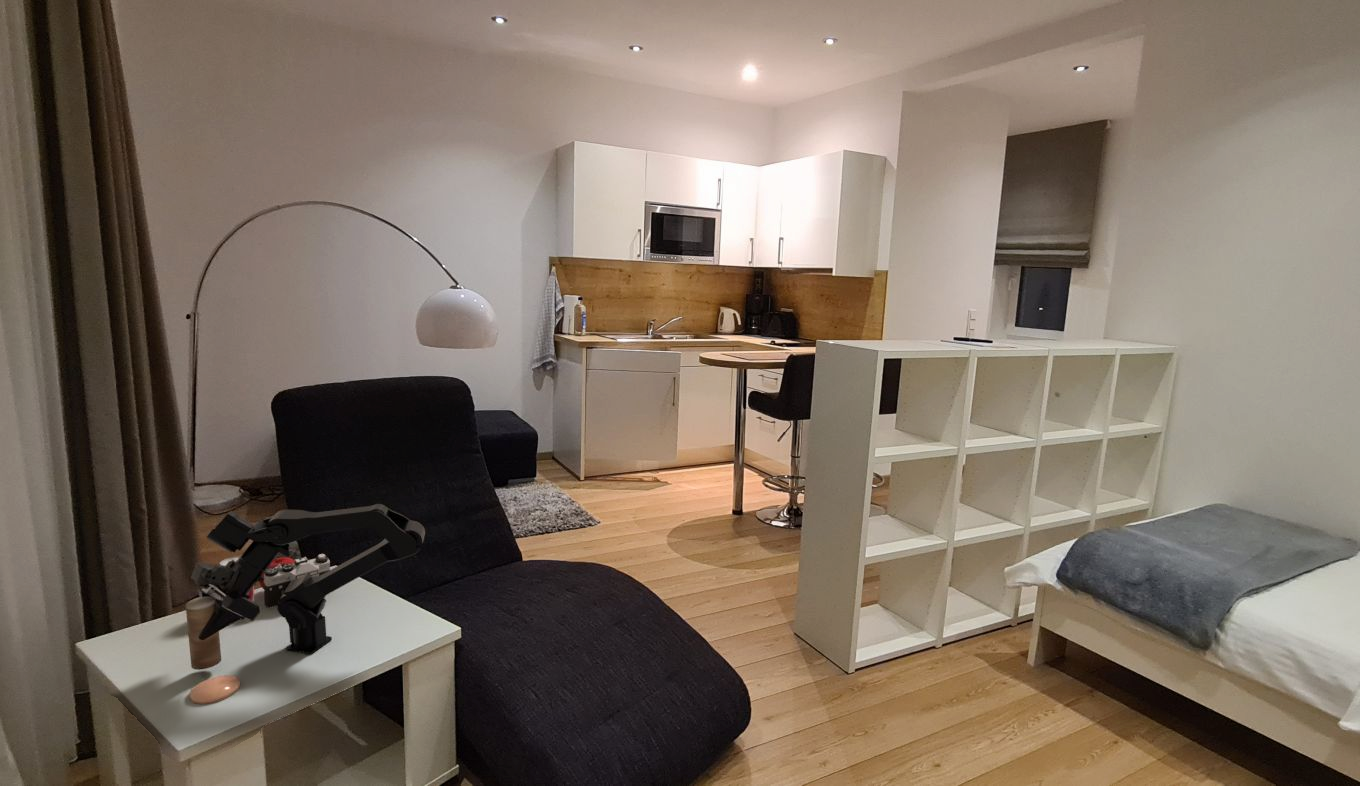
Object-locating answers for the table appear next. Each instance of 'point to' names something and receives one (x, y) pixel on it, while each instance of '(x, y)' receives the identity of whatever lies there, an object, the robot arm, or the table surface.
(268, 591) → the camera
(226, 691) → the coaster
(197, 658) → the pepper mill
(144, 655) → the table surface
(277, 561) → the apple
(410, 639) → the table surface
